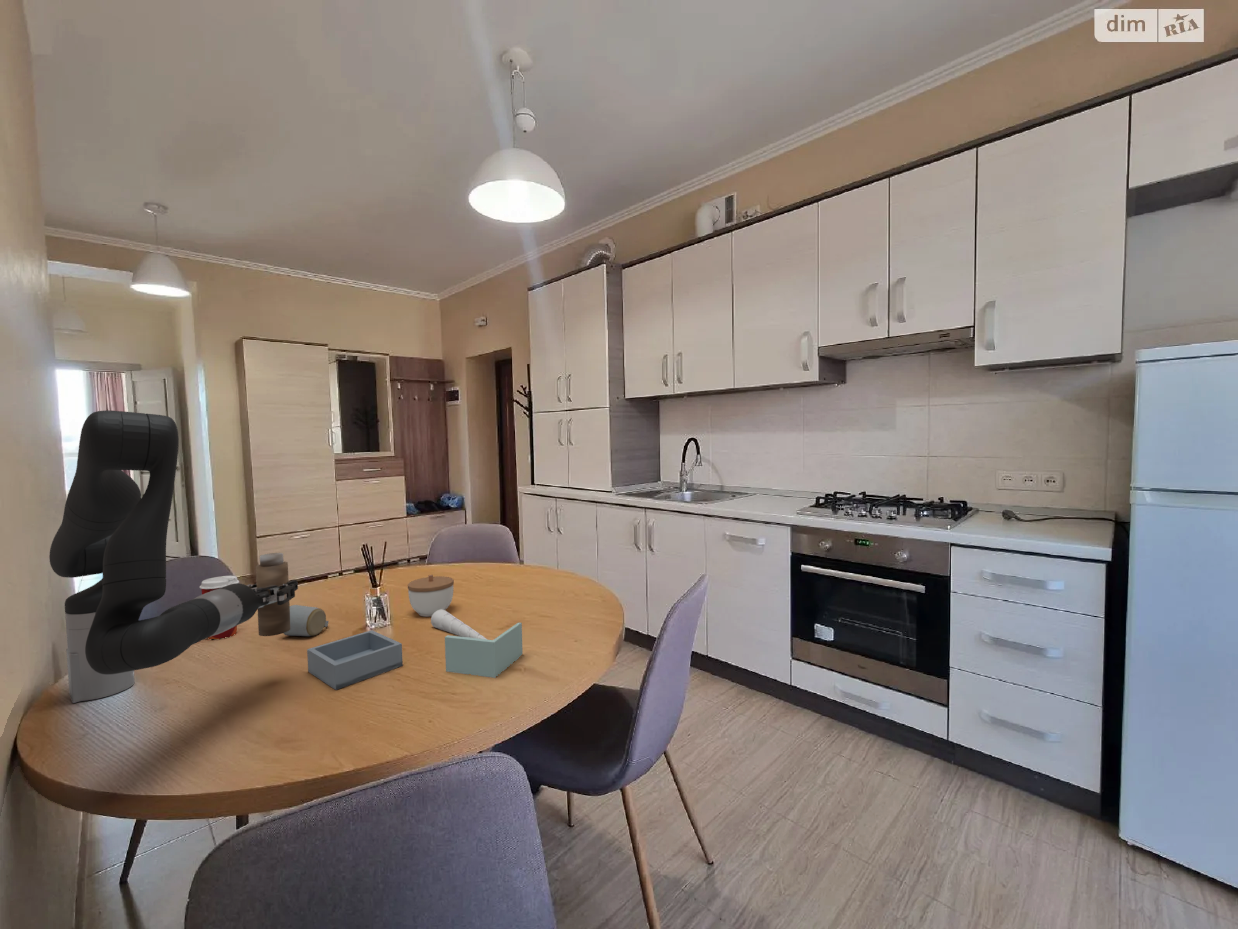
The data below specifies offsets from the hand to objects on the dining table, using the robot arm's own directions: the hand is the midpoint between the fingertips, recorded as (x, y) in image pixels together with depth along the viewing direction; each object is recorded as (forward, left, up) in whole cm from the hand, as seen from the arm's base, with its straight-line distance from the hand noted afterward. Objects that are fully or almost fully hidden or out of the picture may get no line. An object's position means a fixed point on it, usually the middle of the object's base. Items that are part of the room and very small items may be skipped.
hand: (280, 585), depth 109 cm
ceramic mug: (+13, +25, -20) cm, 35 cm away
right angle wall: (+30, -29, -20) cm, 46 cm away
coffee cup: (-1, +41, -20) cm, 46 cm away
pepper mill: (-2, -2, -9) cm, 9 cm away
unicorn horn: (+37, -10, -20) cm, 44 cm away
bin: (+11, -9, -20) cm, 24 cm away
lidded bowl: (+42, +12, -20) cm, 48 cm away
